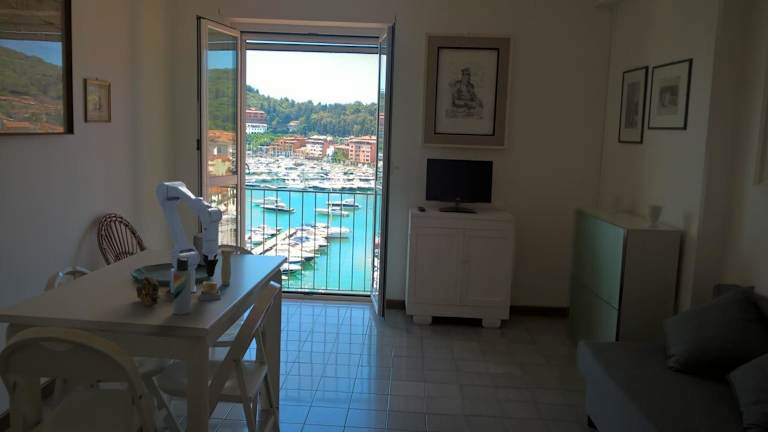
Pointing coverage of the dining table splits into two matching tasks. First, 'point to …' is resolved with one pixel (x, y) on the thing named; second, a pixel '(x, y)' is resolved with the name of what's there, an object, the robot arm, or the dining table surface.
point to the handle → (226, 265)
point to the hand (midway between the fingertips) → (210, 274)
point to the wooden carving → (148, 291)
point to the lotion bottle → (182, 287)
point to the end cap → (209, 296)
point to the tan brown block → (210, 287)
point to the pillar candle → (199, 245)
